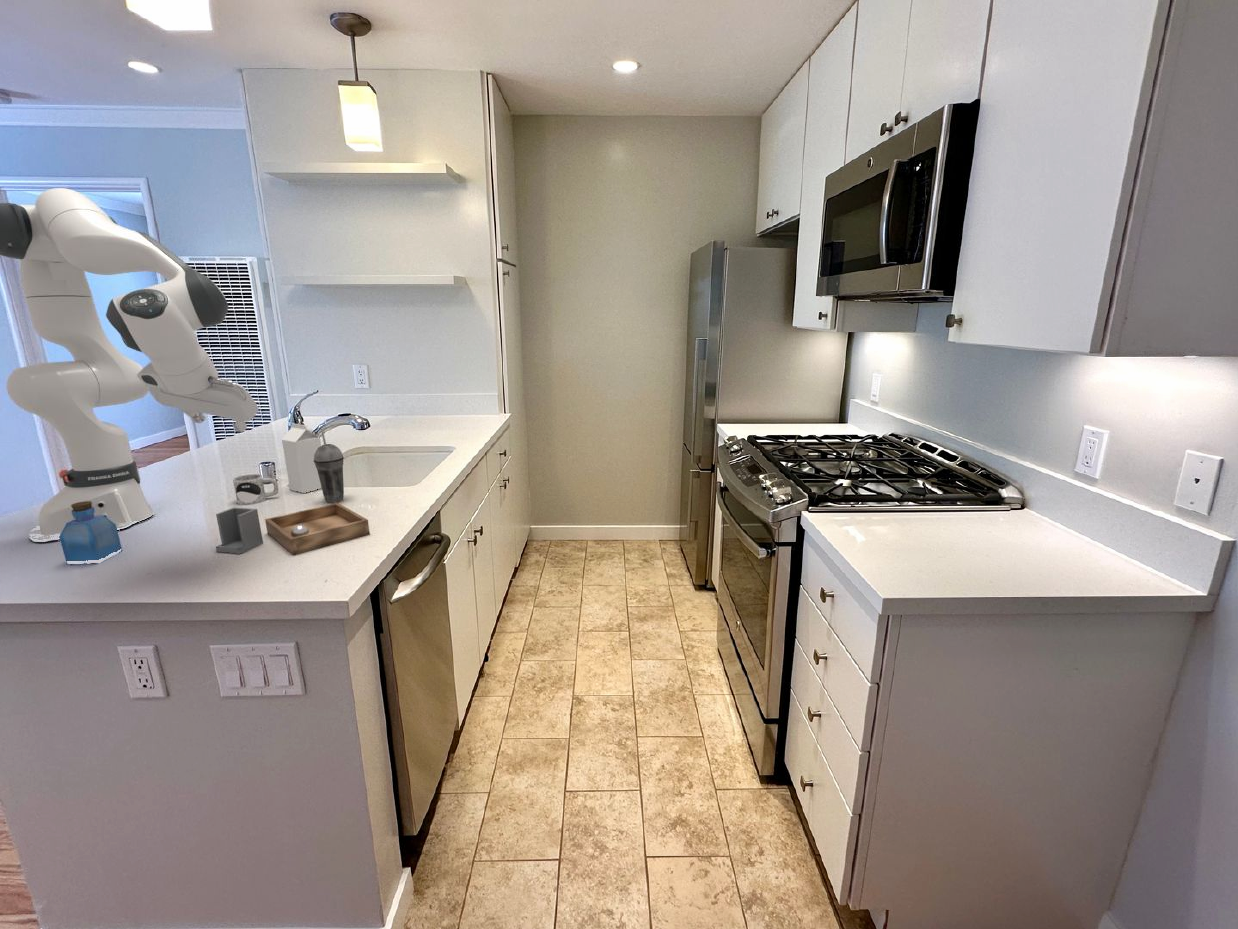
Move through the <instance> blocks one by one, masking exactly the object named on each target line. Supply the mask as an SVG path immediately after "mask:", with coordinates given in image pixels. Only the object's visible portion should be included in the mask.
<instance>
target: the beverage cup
mask: <svg viewBox="0 0 1238 929" xmlns="http://www.w3.org/2000/svg"><path fill="white" fill-rule="evenodd" d="M320 432H321V437H322V442H323V445H322V444H321V446H320V447H319V448H318V449H317V450H316V452H315V454H314V462H315V466H316V468H317V471H318V475H319V479H320V483H321V487H322V489H321V492H322V495H323V498H324V501H326V502H327V504H335V502H337V503H340V502H339V501H341V500H343V498H344V494H345V490H344V488H345V487H344V460H345V457H344V455H343V452H342V450H341V449H340V448H339V447H338V446H336V445H335V444H332V443H331V444H330V443H327V442H326V438H325V434H324V428H320ZM344 499H345V498H344ZM343 501H344V500H343ZM326 502H325V503H326ZM341 502H342V501H341Z"/></svg>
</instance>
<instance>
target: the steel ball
mask: <svg viewBox="0 0 1238 929" xmlns="http://www.w3.org/2000/svg"><path fill="white" fill-rule="evenodd" d="M305 534H309V529H308V528H307V527H306V526H304V525H297V526H295V527H294V528H293V529H292V531H291V536H293V537H298V536H302V535H305Z"/></svg>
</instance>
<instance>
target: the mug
mask: <svg viewBox="0 0 1238 929" xmlns="http://www.w3.org/2000/svg"><path fill="white" fill-rule="evenodd" d="M232 481H233V488H234V493H235V498H236V502H237V503H238V505H239V504H241V505H240V506H248V505H255V504H260V503H262V502H265V501H266V500H267V498H270V497H272V496H277V495H278V494H279V484H278V481H277V479H276V478H273V477H272V478H271V477H268V478H267V477H263V474H260V473H259V474H258V473H257V474H256V473H255V474H252V473H251V474H245V475H240V476H236V477H233V479H232ZM265 483H272V486H273V491H271V492H270V491H269V492H266V491H265V485H264V484H265Z"/></svg>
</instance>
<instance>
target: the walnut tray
mask: <svg viewBox="0 0 1238 929" xmlns="http://www.w3.org/2000/svg"><path fill="white" fill-rule="evenodd" d="M264 522H265V527H266V528H265V529H266V532H267V534H268V535H269V536H270V537H271V538H273V540H275V541H276V542H277V543H278V544H279V545H281V546H282V547H283V548H284V549H286V550H287V551H288V552H289V553H290V554H292V555H293V556H296V555H298V554H304V553H307V552H310V551H313V550H317V549H321V548H325V547H328V546H331V545H332V546H333V545H336V544H340V543H343V542H347V541H350V540H354V539H357V538H361V537H365V536H369V535H370V534H371V533H370V526H369V520H368V518H366V517H364V516H362V515H360V514H359V513H356V512H355V511H353V510H351V509H350V508H348V507H346V506H344V505H342V504H340V502H337V503H329V504H326V505H322V506H318V507H317V506H316V507H313V508H307V509H305V510H301V511H295V512H291V513H287V514H282V515H277V516H272V517H269V518H265V519H264ZM297 525H304V526H306V527H307V528H308V529H309V534H305V535H302V536H298V537H293V536H291V531H292V529H293V528H294V527H295V526H297Z"/></svg>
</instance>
